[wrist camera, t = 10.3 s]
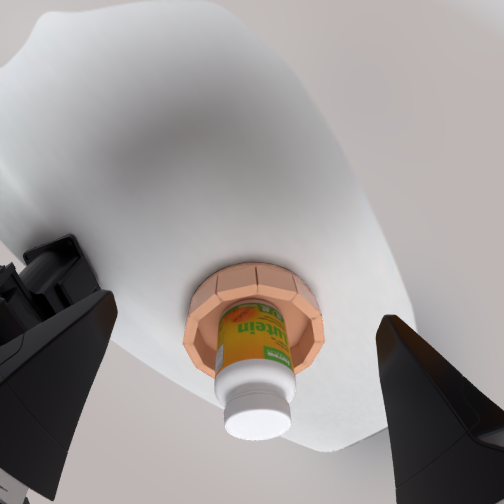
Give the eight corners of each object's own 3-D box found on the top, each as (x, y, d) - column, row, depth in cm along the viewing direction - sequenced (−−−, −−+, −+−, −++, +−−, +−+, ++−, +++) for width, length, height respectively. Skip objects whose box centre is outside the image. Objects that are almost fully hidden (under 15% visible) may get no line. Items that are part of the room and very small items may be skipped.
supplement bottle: (292, 303, 23) (317, 405, 15) (273, 350, 26) (286, 446, 17) (224, 291, 23) (220, 398, 14) (213, 341, 25) (206, 441, 16)
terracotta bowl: (212, 368, 28) (210, 393, 25) (170, 279, 23) (162, 303, 20) (320, 346, 27) (328, 371, 24) (305, 248, 22) (315, 270, 19)
